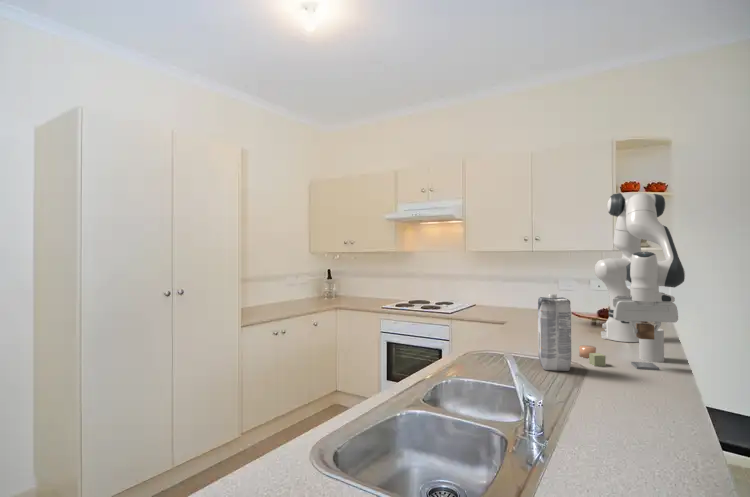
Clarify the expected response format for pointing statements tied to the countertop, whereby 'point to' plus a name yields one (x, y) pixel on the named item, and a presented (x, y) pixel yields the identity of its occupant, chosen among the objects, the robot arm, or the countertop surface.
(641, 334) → the walnut block
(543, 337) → the juice carton
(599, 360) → the olive block
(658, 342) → the cup
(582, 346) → the peach glossy ball
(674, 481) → the countertop surface
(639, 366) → the slate coaster
